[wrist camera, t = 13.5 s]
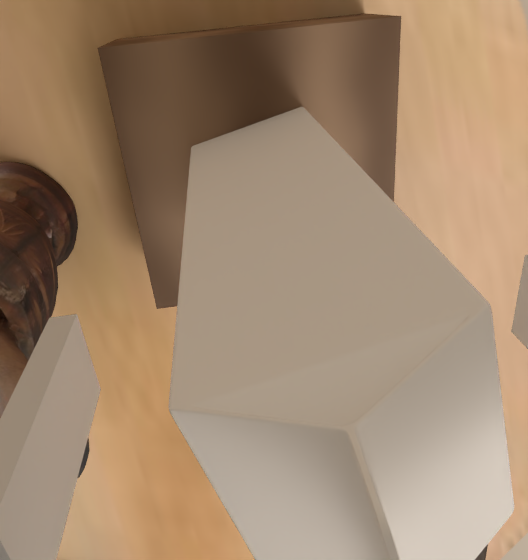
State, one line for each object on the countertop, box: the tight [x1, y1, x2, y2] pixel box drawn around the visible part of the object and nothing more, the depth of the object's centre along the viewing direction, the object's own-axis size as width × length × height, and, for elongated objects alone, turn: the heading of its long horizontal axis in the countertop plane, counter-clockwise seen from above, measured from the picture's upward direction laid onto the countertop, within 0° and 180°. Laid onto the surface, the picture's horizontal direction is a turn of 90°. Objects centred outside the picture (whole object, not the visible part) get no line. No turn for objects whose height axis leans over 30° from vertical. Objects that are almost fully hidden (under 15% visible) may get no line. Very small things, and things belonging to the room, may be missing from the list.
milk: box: [169, 107, 514, 560], centre depth 17 cm, size 6×6×22 cm
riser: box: [98, 14, 401, 309], centre depth 29 cm, size 14×14×6 cm
